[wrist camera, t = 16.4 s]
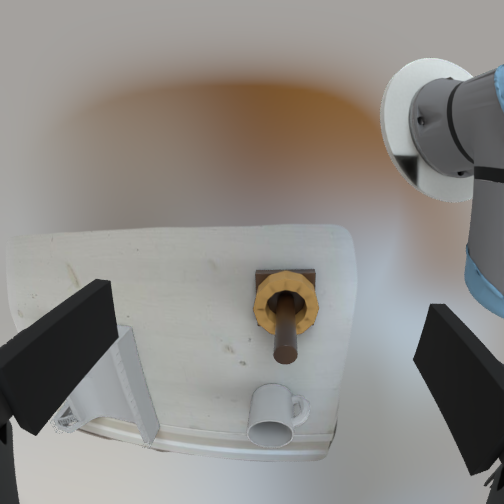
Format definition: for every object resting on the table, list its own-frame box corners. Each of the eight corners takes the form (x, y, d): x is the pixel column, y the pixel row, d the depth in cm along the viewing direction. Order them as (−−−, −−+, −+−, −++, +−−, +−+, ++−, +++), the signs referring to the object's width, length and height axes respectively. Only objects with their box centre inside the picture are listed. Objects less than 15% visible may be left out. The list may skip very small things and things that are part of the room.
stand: (314, 269, 41) (328, 319, 28) (312, 320, 44) (322, 384, 30) (256, 269, 42) (243, 320, 28) (258, 321, 45) (247, 384, 31)
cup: (245, 387, 48) (239, 424, 40) (302, 373, 47) (304, 411, 38) (260, 414, 50) (256, 451, 41) (314, 402, 48) (317, 439, 40)
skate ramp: (160, 426, 54) (144, 460, 45) (75, 406, 57) (55, 432, 47) (131, 326, 47) (103, 359, 38) (40, 314, 50) (9, 337, 40)
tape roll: (328, 298, 41) (331, 308, 38) (286, 335, 43) (286, 346, 40) (285, 259, 40) (285, 266, 37) (243, 300, 42) (241, 309, 39)
